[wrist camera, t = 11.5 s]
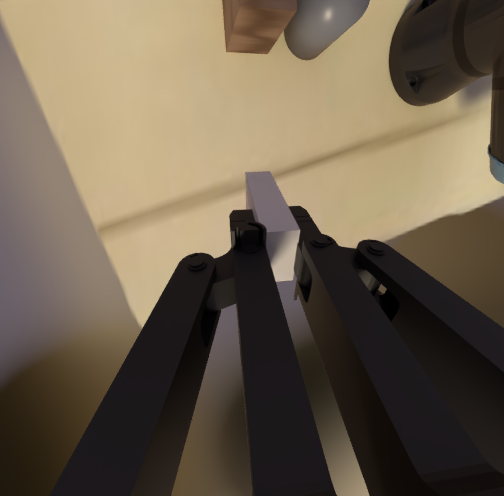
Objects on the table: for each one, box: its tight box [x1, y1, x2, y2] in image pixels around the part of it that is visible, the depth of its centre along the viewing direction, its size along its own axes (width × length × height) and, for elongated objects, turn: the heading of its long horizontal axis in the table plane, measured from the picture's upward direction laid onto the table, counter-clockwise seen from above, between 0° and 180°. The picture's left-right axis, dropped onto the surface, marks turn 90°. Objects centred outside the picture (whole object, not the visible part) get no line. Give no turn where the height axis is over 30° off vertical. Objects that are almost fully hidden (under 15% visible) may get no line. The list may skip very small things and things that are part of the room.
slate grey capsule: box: [284, 0, 370, 60], centre depth 29 cm, size 7×7×9 cm
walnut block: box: [222, 0, 297, 54], centre depth 27 cm, size 6×6×10 cm
